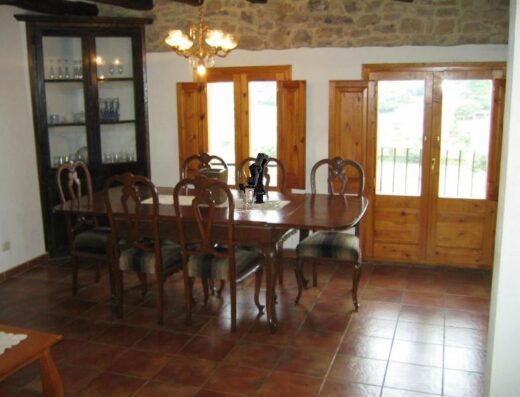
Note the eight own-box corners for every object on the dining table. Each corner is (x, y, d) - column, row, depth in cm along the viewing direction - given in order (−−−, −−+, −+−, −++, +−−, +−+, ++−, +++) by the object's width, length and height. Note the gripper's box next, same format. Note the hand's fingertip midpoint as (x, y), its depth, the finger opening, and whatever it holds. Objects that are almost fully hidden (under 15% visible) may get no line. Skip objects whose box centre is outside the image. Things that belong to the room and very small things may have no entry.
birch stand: (239, 210, 397) (239, 192, 395) (253, 211, 394) (253, 193, 392) (235, 213, 387) (234, 195, 385) (248, 214, 384) (248, 196, 382)
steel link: (246, 204, 400) (246, 188, 398) (254, 205, 399) (254, 188, 396) (245, 205, 399) (245, 188, 397) (253, 205, 397) (253, 189, 395)
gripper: (239, 171, 401) (233, 189, 392) (264, 173, 395) (259, 191, 387) (242, 181, 410) (237, 198, 401) (267, 182, 404) (262, 200, 396)
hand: (249, 196), depth 396 cm, fingers closed on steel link, 6 cm apart
